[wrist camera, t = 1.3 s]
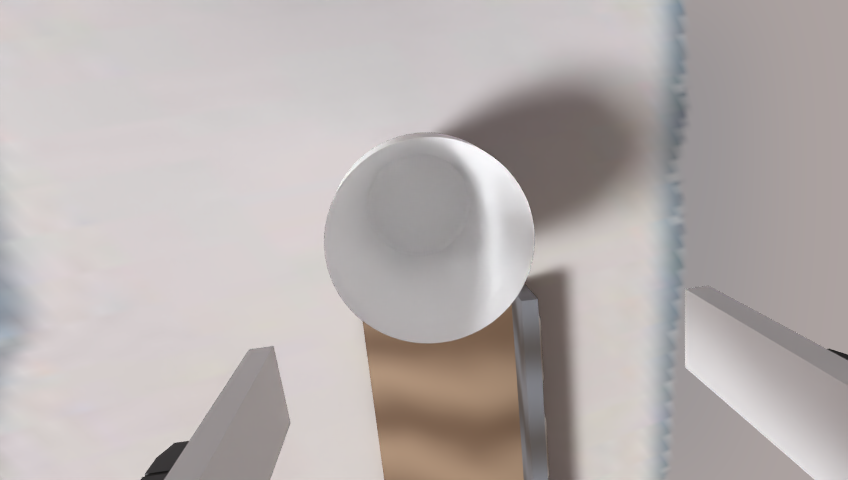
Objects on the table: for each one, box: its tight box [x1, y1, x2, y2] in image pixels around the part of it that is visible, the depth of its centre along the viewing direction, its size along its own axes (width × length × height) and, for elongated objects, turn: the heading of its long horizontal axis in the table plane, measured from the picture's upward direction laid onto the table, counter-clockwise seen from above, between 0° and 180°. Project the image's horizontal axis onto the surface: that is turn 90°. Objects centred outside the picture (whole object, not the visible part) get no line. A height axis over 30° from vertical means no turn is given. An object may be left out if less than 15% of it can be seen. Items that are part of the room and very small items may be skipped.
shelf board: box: [363, 284, 549, 480], centre depth 33 cm, size 19×11×4 cm, turn 6°
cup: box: [324, 133, 535, 343], centre depth 26 cm, size 9×9×12 cm
